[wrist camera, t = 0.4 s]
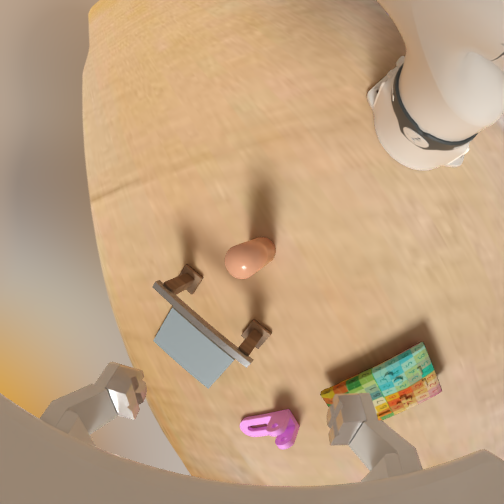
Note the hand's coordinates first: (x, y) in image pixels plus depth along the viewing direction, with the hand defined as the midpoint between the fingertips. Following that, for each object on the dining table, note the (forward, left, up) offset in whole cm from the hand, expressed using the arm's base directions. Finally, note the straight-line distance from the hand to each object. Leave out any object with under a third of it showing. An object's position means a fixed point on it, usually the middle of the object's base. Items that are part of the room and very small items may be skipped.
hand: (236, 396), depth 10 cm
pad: (+32, -8, -36) cm, 48 cm away
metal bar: (+19, -8, -28) cm, 34 cm away
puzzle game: (+12, +25, -36) cm, 46 cm away
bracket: (+36, +15, -36) cm, 53 cm away
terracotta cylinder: (+6, -8, -36) cm, 37 cm away
